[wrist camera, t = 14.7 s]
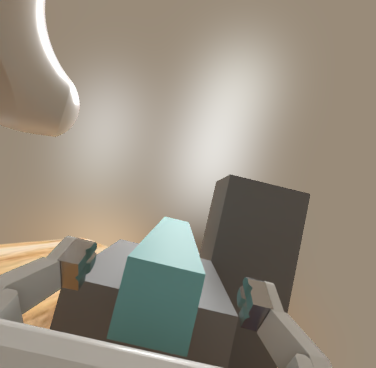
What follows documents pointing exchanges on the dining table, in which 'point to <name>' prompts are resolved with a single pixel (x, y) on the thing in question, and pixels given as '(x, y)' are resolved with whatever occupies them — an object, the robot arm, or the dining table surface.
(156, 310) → the bar
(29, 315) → the dining table surface
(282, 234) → the tall grey pillar
